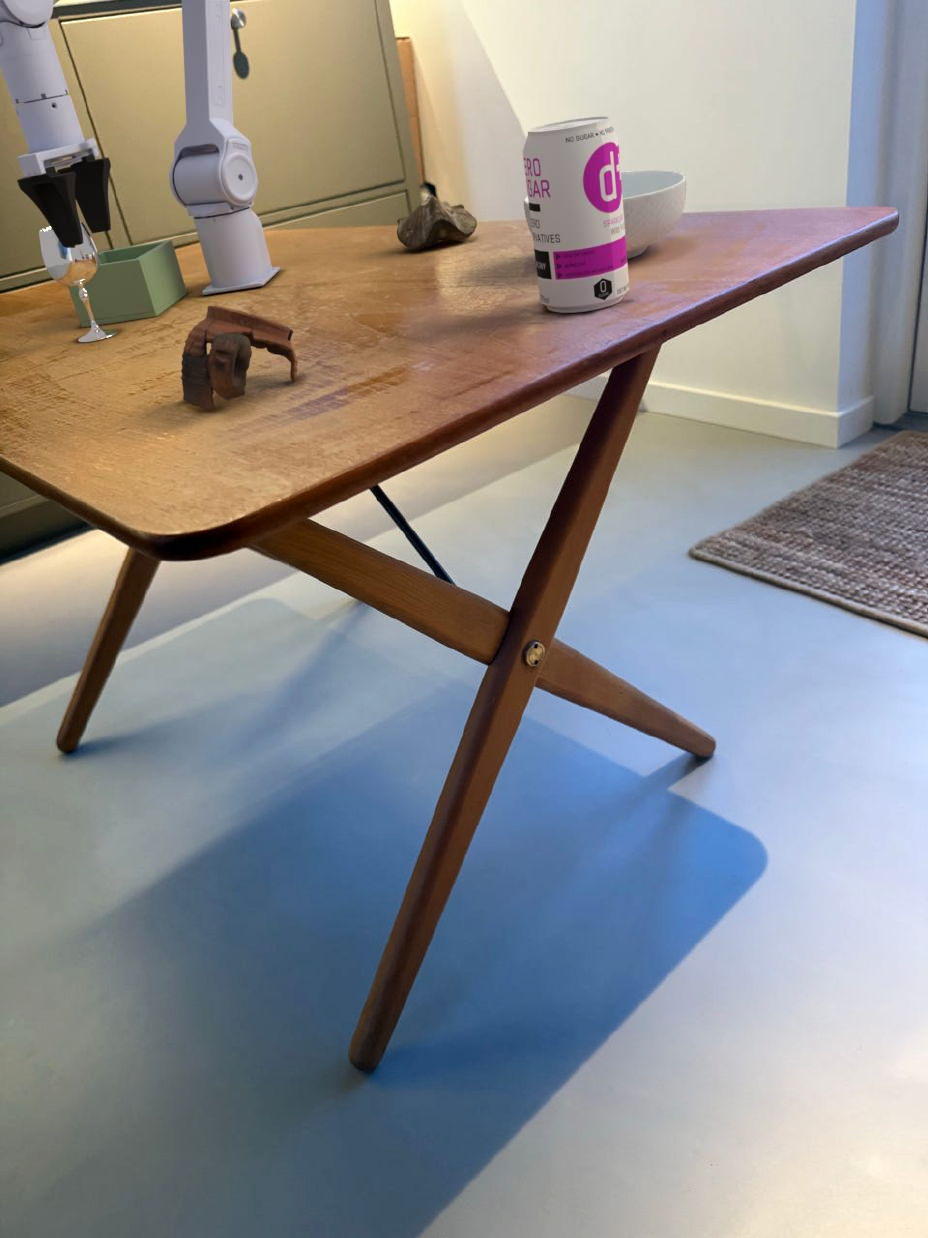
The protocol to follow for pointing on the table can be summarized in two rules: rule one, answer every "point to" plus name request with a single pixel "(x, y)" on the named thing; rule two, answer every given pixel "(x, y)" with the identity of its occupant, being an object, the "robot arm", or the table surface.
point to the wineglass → (74, 271)
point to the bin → (132, 284)
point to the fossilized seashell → (435, 224)
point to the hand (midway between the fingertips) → (88, 238)
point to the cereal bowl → (646, 206)
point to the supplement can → (577, 214)
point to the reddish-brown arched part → (228, 353)
